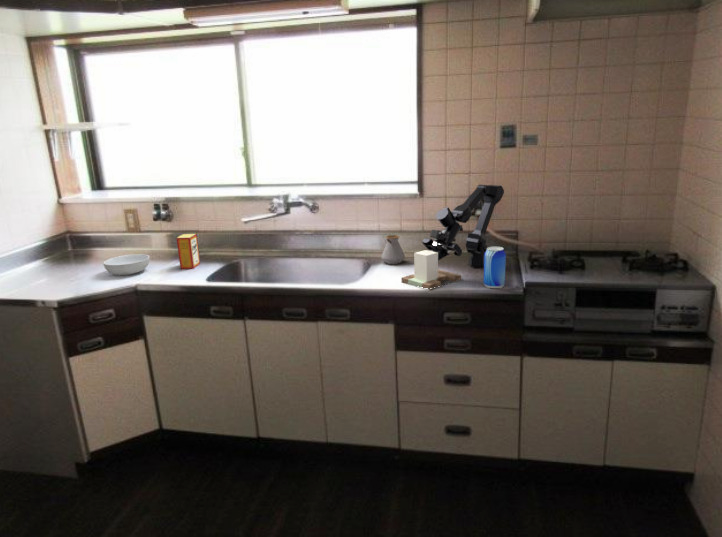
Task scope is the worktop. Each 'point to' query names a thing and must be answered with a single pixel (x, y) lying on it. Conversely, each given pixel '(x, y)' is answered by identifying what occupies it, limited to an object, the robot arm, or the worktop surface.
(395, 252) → the coffee pot
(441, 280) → the walnut trap board
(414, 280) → the green pad
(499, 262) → the beer can
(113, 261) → the serving bowl
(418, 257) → the cream block
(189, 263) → the baking soda box
